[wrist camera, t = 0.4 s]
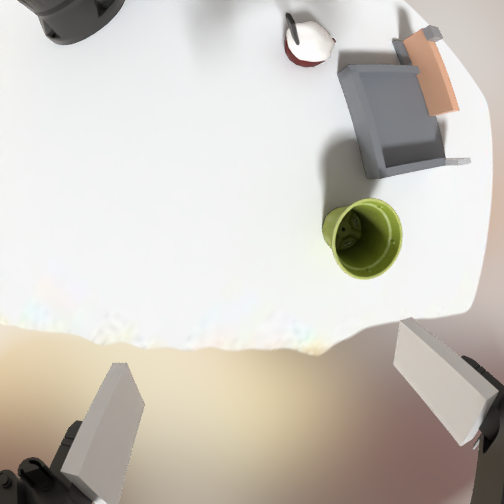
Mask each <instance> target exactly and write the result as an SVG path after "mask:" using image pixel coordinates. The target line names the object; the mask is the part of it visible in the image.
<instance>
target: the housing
mask: <svg viewBox="0 0 504 504" xmlns="http://www.w3.org/2000/svg"><path fill="white" fill-rule="evenodd" d="M392 43H393V45H394V48H395V50H396V52H397V55H398V57H399V60H400V62H401V65H388V64H355V65H347V66H346V67H345V68H344V69H343V70H341V71H340V72H339V73H338V74H337V75H338V78H339V81H340V84H341V87H342V90H343V93H344V96H345V99H346V102H347V105H348V108H349V112H350V115H351V118H352V122H353V125H354V129H355V132H356V136H357V140H358V144H359V148H360V152H361V156H362V160H363V164H364V168H365V173H366V177H367V179H381V178H385V177H390V176H395V175H399V174H404V173H409V172H414V171H419V170H424V169H429V168H434V167H439V166H445V165H463V164H468V163H471V160H470V158H446V157H445V152H444V148H443V143H442V139H441V134H440V130H439V126H438V122H437V118H436V116H429V113H428V109H427V106H426V102H425V99H424V96H423V93H422V90H421V87H420V84H419V81H418V78H417V75H418V74H420V73H421V72H420V70H419V67H418V66H413V65H412V62H411V60H410V57H409V55H408V52H407V50H406V48H405V45H404V43H403V41H396V40H395V41H394V42H392Z"/></svg>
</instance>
